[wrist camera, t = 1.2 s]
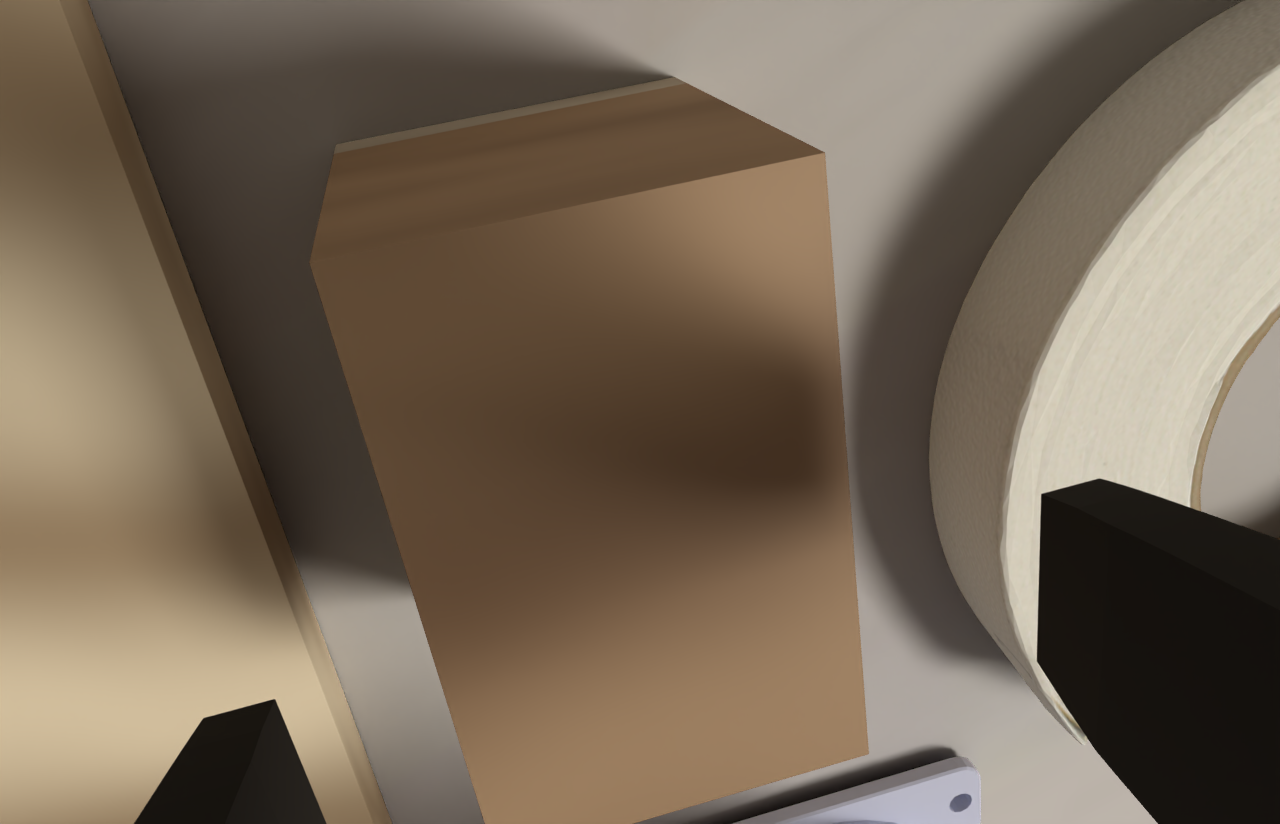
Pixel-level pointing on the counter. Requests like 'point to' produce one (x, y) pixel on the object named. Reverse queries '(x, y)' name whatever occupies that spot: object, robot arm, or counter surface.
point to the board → (127, 476)
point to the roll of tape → (1112, 315)
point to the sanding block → (608, 442)
